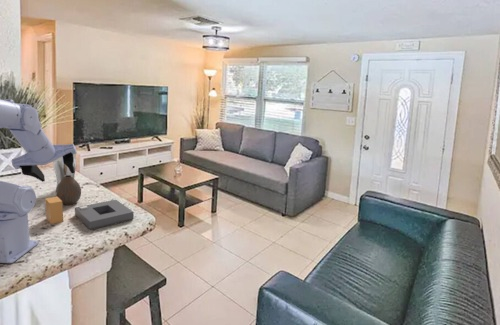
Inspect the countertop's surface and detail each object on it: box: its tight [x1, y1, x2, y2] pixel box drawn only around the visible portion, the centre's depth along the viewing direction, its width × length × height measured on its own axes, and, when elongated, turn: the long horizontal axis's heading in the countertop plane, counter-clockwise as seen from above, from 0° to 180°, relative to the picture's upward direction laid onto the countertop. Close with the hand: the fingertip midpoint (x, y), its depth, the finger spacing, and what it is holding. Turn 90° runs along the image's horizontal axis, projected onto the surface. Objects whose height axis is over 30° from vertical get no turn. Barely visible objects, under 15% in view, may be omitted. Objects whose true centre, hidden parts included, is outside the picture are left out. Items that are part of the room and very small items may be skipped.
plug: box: [44, 196, 64, 225], centre depth 91 cm, size 4×3×6 cm, turn 45°
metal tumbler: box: [52, 153, 77, 190], centre depth 113 cm, size 7×7×15 cm
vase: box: [55, 175, 82, 206], centre depth 103 cm, size 7×7×9 cm
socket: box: [74, 199, 135, 231], centre depth 95 cm, size 12×12×3 cm
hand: (58, 174), depth 91 cm, fingers open, 7 cm apart
